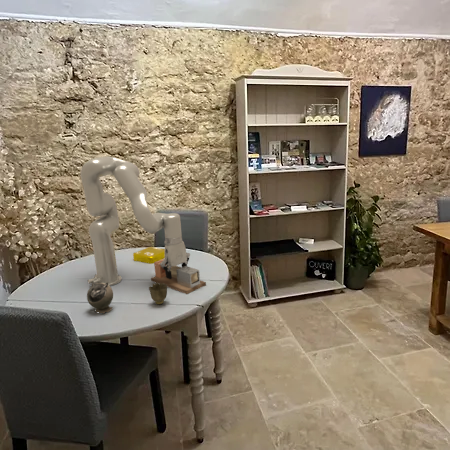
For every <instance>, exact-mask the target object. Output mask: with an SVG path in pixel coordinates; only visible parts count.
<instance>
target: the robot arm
mask: <svg viewBox="0 0 450 450" xmlns="http://www.w3.org/2000/svg"><path fill="white" fill-rule="evenodd" d="M109 175H110V176H113V177H114V178H115V181H116V182H117V183H118V185H119V186H120V188H121V189H122V190H123V192H124V193H125V195H126V197H127V198H128V200H129V201H130V205H131V209H132V212H133V214H134V217H135V219H136V220H137V222H138V223H139V225H140V227H141V228H142V229H143V230H144V231H145V232H146V233H148V234H156V233H157V232H159V231H160V230H162V229H163V230H164V237H165V238H164V239H165V240H164V241H163V243H164V249H165V258H164V260H163V261H162V262H161V263H160V265H161V267H162V268H163V269H164V270H166V277H167V278H168V279H172V274H171V271H170V269H171V267H174V266H179V265H181V267H184V266H188V264H189V263H188V262H189V261H190V256H191V253H189V252H187V248H186V245H185V242H184V241H183V236H182V235H183V233H182V224H181V223H182V222H181V215H180V214H179V213H177V212H173V213H172V212H171V213H164V212H155V213H152V211H151V210H150V208H149V206H148V203H147V195H148V191H147V189H146V188H145V187H144V185H143V183H142V182H141V181H140V179H139V176H140V169H139V167H138V166H137V165H136V164H135V163H134V162H131V161H127V160H124V159H120V158H117V157H114V156H109V155H107V156H101V157H95V158H91V159H89V160H88V161H86V162H85V163H84V164H83V165H82V166H81V169H80V180H81V184H82V188H83V193H84V198H85V203H86V204H85V205H86V208H87V212H88V213H89V215H90V216H91V217H99V218H97V219H95V220H93V221H92V222H91V223H90V225H89V227H88V235H89V237H90V240H91V243H92V248H93V249H92V250H93V255H94V256H93V257H94V263H95V271H96V274H95V275H94V277H93V278H89V279H87V282H88V284H90V285H91V284H92V282H93V283H95V284H97V283H105V284H106V283H108V285H109V286H110V287H111V286H115V285H118V284H119V283H120V282H121V281H122V278H123V277H122V276H121V275H119V274H118V268H117V267H118V265H117V259H116V251H115V244H114V242H113V239H112V237H111V235H112V234H114V233H116V232H117V231H118V229H119V228H120V219H119V218H120V217H119V213H118V208H117V203H116V200H115V198H114V196H113V195H111V194H110V193H108V192H104V186H103V183H102V181H101V180H100V178H102V177H105V176H109ZM165 264H166V266H165ZM168 266H169V267H168Z"/></svg>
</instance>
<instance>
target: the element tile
mask: <svg viewBox="0 0 450 450" xmlns="http://www.w3.org/2000/svg"><path fill="white" fill-rule="evenodd" d="M132 256H133V261H134V262H139V263H144V264H149V265H152V264H154V262H157V261H160V260H162V259H165V248H159V247H154V246H148V247H146V248H143V249H141V250H138V251H136V252H133V254H132Z"/></svg>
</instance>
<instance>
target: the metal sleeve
mask: <svg viewBox="0 0 450 450" xmlns="http://www.w3.org/2000/svg"><path fill="white" fill-rule="evenodd" d="M181 267H182V266H181ZM176 271H177V282H178V284H180V285H183V286H185V287H188V288H193V287H195V286H197V285H200V280H201V276H200V269H198V268H193V267H191V266H188V265H187V266H184V267H182V268H179V269H177V270H176ZM196 272H197V277H198V281H195V282H193V283H191V275H192V274H194V273H196Z"/></svg>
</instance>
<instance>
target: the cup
mask: <svg viewBox="0 0 450 450" xmlns="http://www.w3.org/2000/svg"><path fill="white" fill-rule="evenodd" d="M148 289H149V294H150V297H151V298H150V299H152V300H153V302H154V303H155V305H157V306H161V305H163V304H164V303H165V300H166V299H167V295H168V287H167V284H165V283H162V284H161V283H160V284H158V283H152V286H151V285H149V287H148Z"/></svg>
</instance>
